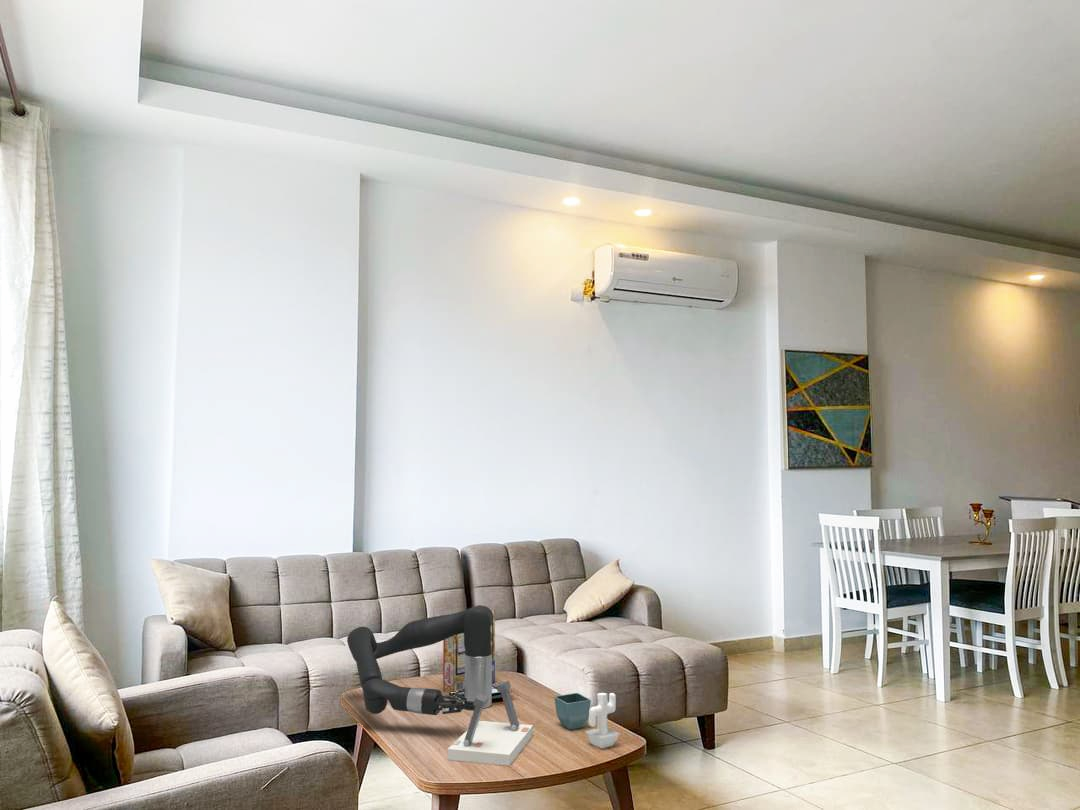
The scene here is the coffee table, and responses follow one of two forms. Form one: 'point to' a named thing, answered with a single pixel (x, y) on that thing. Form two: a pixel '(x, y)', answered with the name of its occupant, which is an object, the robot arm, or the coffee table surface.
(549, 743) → the coffee table surface
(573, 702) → the flower pot
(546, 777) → the coffee table surface
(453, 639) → the board game box
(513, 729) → the lever
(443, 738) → the coffee table surface
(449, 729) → the coffee table surface
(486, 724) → the switch base
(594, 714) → the figurine
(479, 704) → the lever
